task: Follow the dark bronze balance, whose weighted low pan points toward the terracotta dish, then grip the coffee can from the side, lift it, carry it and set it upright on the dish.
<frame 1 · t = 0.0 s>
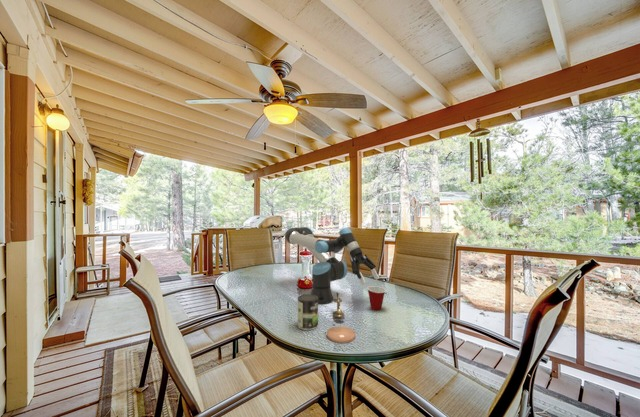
hand: (371, 281, 155), 15 cm above the table, tool tilted 35°, fingers open, 13 cm apart
plastic cup: (376, 309, 152), on the table
balance: (338, 316, 141), on the table
coffee can: (308, 326, 130), on the table
dish: (340, 335, 120), on the table
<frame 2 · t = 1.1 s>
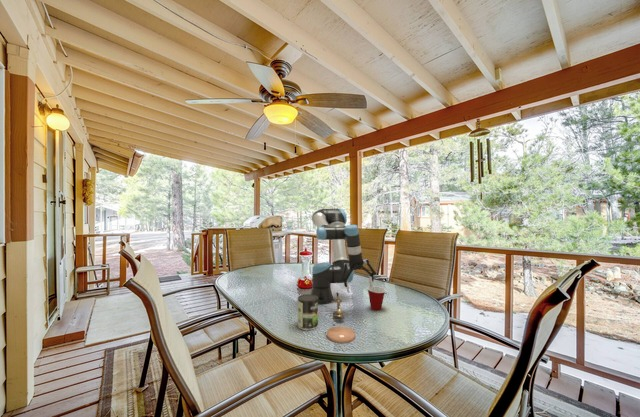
hand: (360, 289, 146), 13 cm above the table, tool pointing down, fingers open, 13 cm apart
nothing on the table moved.
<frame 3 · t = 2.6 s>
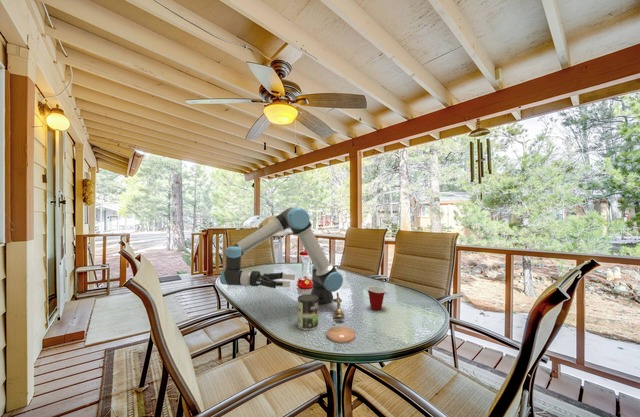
hand: (292, 280, 131), 22 cm above the table, tool horizontal, fingers open, 13 cm apart
nothing on the table moved.
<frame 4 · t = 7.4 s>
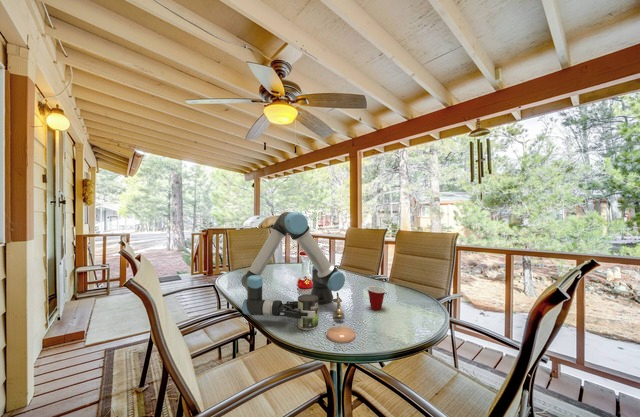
hand: (316, 309, 130), 8 cm above the table, tool horizontal, fingers closed on coffee can, 10 cm apart
coffee can: (308, 325, 130), on the table, touching gripper
everything else where it was.
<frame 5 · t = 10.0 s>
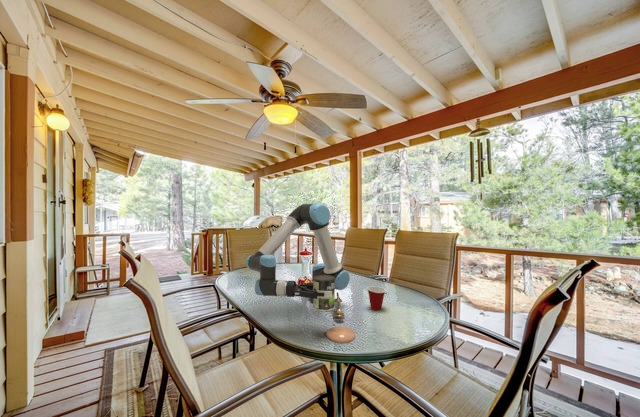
hand: (333, 290, 122), 20 cm above the table, tool horizontal, fingers closed on coffee can, 10 cm apart
coffee can: (324, 307, 123), point 12 cm above the table, touching gripper
everything else where it was.
when the fingers open (11 cm above the table, at t = 12.8 s): coffee can drops 1 cm, resting on dish.
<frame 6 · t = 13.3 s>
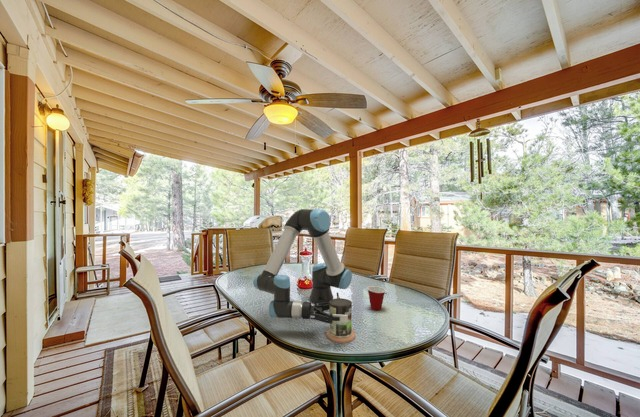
hand: (348, 312, 119), 11 cm above the table, tool horizontal, fingers open, 13 cm apart
coffee can: (340, 333, 120), point 1 cm above the table, touching dish
everything else where it was.
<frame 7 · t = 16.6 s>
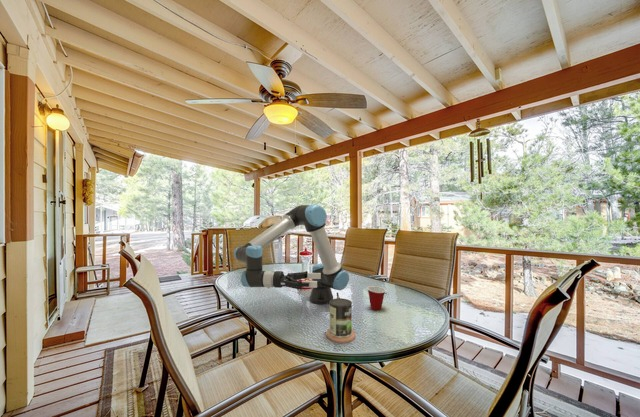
hand: (319, 280, 121), 25 cm above the table, tool horizontal, fingers open, 13 cm apart
nothing on the table moved.
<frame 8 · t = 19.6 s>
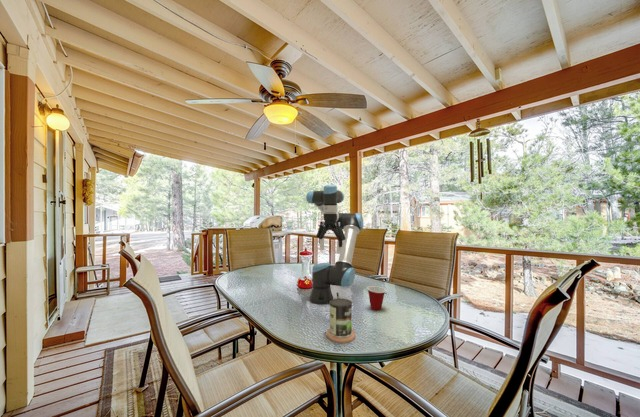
hand: (330, 251, 144), 35 cm above the table, tool pointing down, fingers open, 13 cm apart
nothing on the table moved.
at the end: coffee can 0.1 cm from the dish (horizontally); coffee can tilted 0°; coffee can touching dish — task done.
